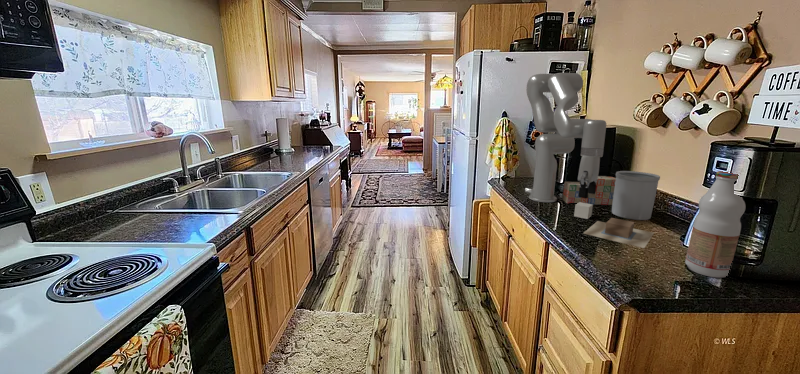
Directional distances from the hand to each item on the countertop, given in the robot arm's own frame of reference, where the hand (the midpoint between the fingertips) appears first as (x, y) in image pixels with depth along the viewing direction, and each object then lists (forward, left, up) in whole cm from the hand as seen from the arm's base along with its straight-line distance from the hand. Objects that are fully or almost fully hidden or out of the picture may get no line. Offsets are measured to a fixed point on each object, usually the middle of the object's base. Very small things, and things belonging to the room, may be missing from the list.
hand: (586, 195), depth 134 cm
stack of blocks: (-6, +27, -10) cm, 30 cm away
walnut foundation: (+14, -10, -9) cm, 20 cm away
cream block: (-1, +1, -10) cm, 10 cm away
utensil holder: (+12, +20, -10) cm, 25 cm away
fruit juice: (+38, -22, -10) cm, 46 cm away
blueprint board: (+14, -10, -10) cm, 20 cm away
